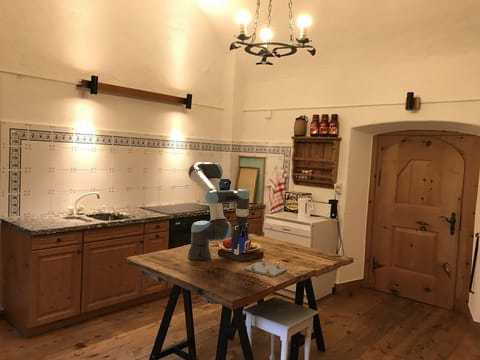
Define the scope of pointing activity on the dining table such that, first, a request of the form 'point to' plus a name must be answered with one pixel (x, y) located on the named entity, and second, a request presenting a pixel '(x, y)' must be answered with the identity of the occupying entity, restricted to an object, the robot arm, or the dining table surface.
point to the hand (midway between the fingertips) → (239, 252)
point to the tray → (265, 269)
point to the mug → (240, 244)
